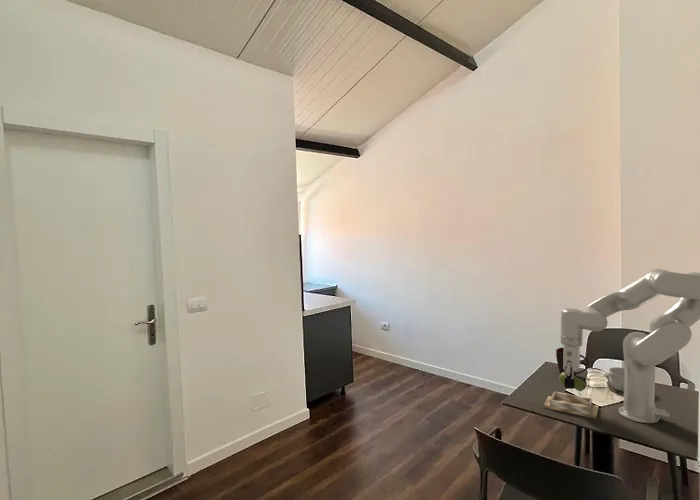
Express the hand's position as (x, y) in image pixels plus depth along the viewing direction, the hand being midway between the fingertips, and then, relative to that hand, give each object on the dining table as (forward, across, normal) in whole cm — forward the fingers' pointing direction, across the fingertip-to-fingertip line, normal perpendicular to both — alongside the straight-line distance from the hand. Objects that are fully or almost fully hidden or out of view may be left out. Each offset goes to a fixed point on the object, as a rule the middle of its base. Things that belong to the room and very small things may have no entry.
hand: (570, 384), depth 164 cm
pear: (+1, 0, -1) cm, 1 cm away
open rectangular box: (+9, 0, 0) cm, 9 cm away
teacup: (+9, +32, -16) cm, 36 cm away
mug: (+9, +38, +4) cm, 39 cm away
